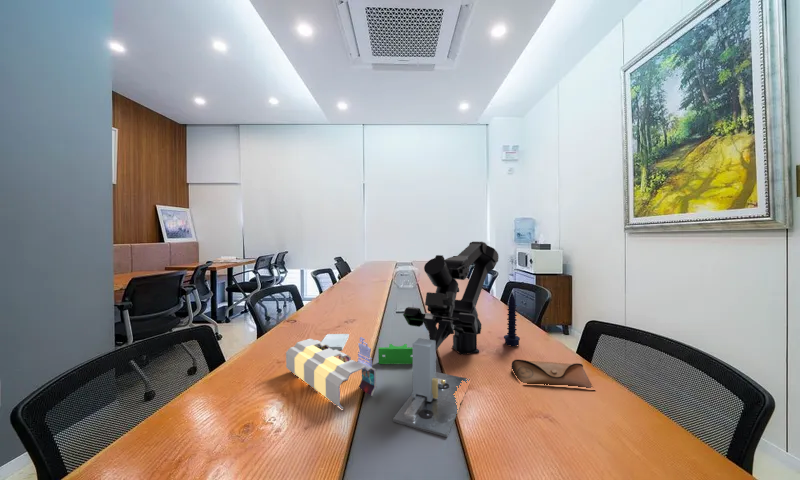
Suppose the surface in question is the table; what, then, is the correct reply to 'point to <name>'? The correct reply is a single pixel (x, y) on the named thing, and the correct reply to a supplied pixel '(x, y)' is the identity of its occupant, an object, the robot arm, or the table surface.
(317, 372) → the diorama
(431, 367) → the gray rectangular block
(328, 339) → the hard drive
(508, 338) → the screw
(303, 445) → the table surface
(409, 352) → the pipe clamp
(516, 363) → the sunglasses case
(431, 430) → the flange plate
